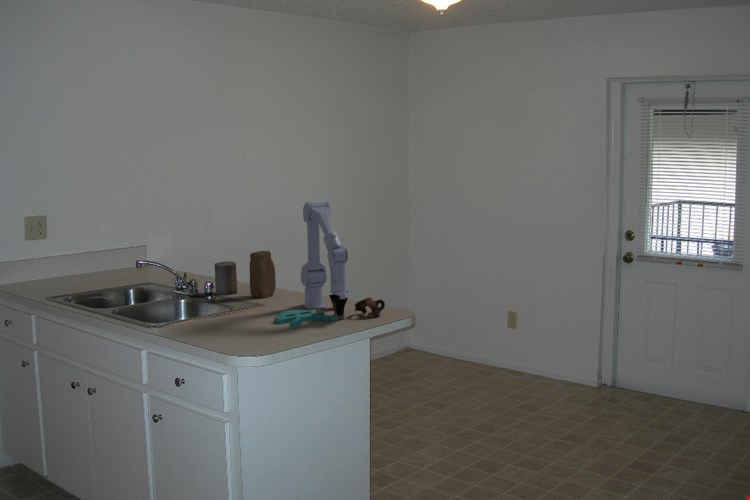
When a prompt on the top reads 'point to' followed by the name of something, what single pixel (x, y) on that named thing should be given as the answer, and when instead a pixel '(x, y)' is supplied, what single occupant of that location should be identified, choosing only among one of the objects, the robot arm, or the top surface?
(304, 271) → the robot arm
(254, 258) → the brown jar
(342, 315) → the wooden mallet
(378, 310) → the broken pottery
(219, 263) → the pillar candle
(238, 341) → the top surface
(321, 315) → the alien figure
